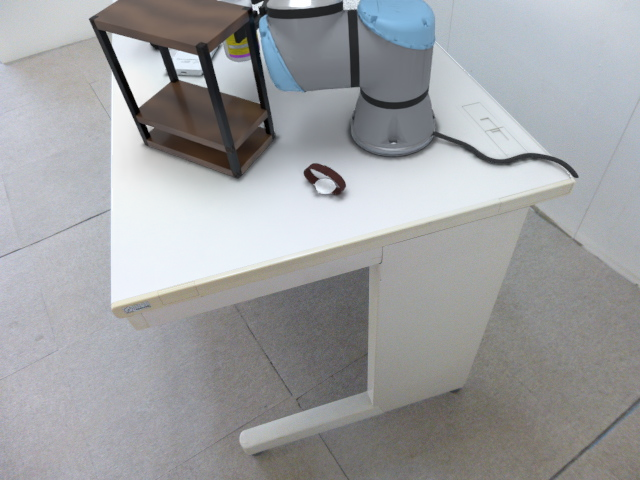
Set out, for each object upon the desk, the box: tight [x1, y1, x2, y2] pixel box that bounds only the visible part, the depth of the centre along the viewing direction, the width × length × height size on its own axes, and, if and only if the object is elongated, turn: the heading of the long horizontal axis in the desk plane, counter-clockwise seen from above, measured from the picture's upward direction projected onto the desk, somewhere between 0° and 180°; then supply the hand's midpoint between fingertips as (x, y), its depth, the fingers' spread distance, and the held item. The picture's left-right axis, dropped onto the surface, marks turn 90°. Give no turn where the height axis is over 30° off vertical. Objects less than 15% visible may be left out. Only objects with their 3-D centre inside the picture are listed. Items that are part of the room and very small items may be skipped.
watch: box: [303, 162, 347, 196], centre depth 82 cm, size 8×5×4 cm
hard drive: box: [165, 45, 220, 77], centre depth 112 cm, size 2×8×12 cm
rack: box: [88, 0, 277, 180], centre depth 84 cm, size 12×22×24 cm, turn 60°
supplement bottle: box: [218, 0, 261, 63], centre depth 90 cm, size 7×7×13 cm
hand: (218, 31), depth 87 cm, fingers closed on supplement bottle, 7 cm apart
